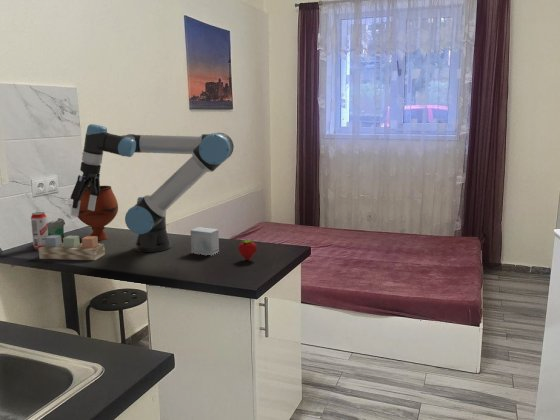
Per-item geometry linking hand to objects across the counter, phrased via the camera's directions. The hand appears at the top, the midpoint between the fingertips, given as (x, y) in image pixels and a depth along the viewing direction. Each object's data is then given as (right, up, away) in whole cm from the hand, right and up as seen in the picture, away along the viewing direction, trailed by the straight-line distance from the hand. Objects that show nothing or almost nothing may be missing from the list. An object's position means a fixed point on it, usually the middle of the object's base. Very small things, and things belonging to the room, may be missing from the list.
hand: (83, 212), depth 207 cm
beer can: (-24, -16, +15) cm, 33 cm away
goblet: (-5, -13, +33) cm, 36 cm away
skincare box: (+49, -18, +8) cm, 53 cm away
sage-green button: (-5, -14, +2) cm, 15 cm away
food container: (-22, -14, +27) cm, 37 cm away
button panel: (-5, -18, +3) cm, 19 cm away
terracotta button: (+3, -14, +1) cm, 14 cm away
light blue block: (-13, -14, +3) cm, 19 cm away
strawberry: (+68, -20, -3) cm, 71 cm away
